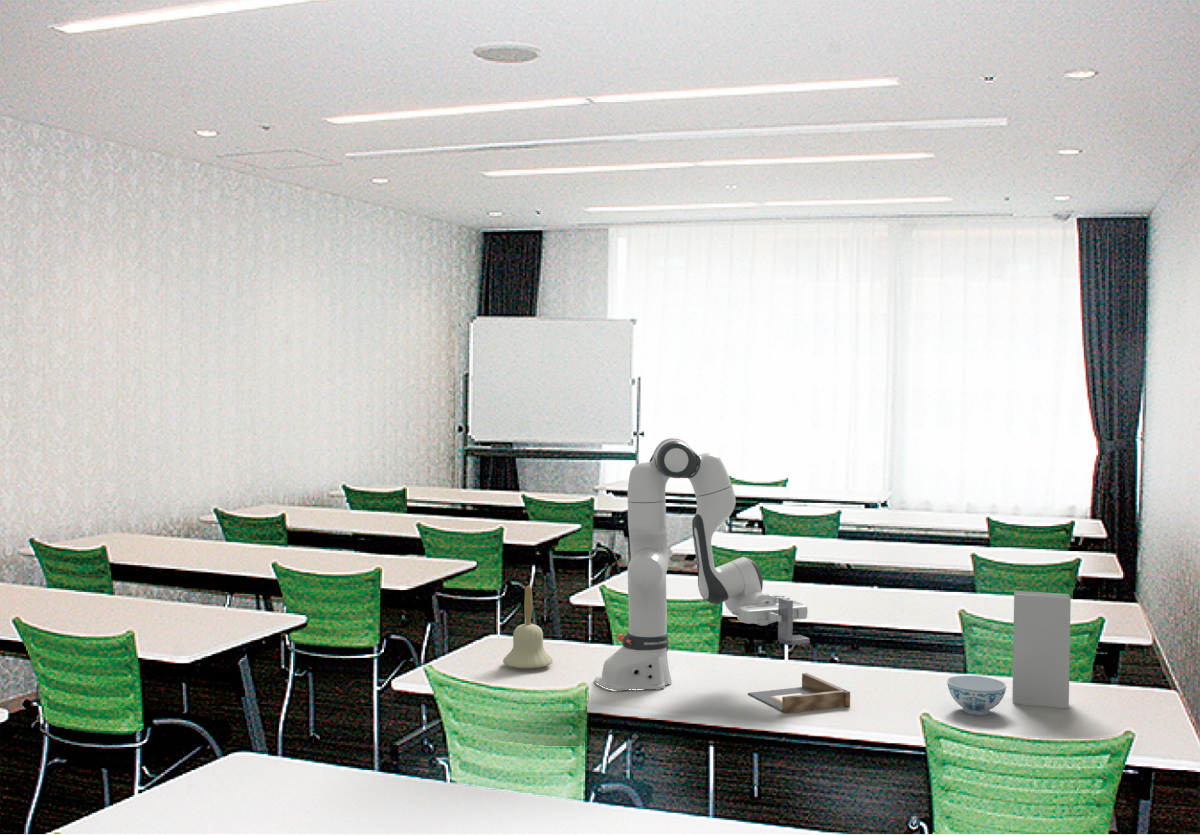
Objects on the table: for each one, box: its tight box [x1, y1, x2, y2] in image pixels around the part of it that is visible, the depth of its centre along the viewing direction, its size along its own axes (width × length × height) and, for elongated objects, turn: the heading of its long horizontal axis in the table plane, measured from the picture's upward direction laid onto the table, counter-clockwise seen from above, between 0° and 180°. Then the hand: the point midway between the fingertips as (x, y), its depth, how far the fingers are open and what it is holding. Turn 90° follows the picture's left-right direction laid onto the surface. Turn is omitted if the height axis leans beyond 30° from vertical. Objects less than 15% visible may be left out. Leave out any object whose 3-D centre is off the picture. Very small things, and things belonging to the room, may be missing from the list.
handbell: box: [502, 585, 554, 669], centre depth 341 cm, size 15×15×25 cm
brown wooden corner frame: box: [781, 672, 851, 714], centre depth 307 cm, size 20×22×4 cm
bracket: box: [777, 598, 811, 646], centre depth 307 cm, size 7×5×12 cm
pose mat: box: [747, 686, 815, 712], centre depth 307 cm, size 18×18×1 cm
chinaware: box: [946, 675, 1007, 716], centre depth 297 cm, size 15×15×8 cm
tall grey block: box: [1011, 590, 1072, 709], centre depth 305 cm, size 14×6×30 cm, turn 71°
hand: (786, 618), depth 305 cm, fingers closed on bracket
